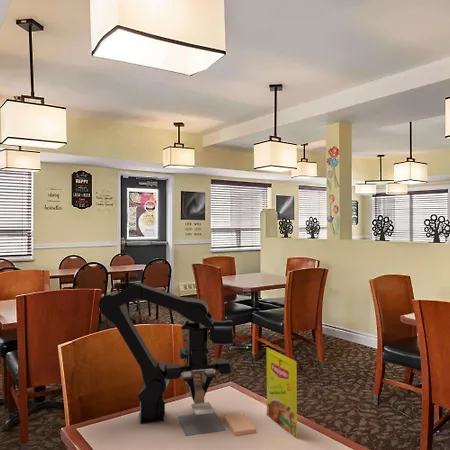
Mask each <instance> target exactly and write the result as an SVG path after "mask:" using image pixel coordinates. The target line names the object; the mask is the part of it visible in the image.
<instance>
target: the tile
mask: <svg viewBox="0 0 450 450" xmlns="http://www.w3.org/2000/svg"><path fill="white" fill-rule="evenodd" d="M223 420H224V421H225V423H226V425H227V426H228V427H229V429H230V430H231V432H232V434H233V436H235V437H236V436H242V435H250V434H256V433H257V428H256V426H255V425H254V423H252V421H251V419H249V417H248V416H247V414H246V413H244V412H241V413H235V414H227V415H224V419H223Z"/></svg>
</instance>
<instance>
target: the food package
mask: <svg viewBox="0 0 450 450" xmlns="http://www.w3.org/2000/svg"><path fill="white" fill-rule="evenodd" d="M265 352H266V416H268V417H269V418H270V419H271V420H272V421H274V423H276V424H277V425H279V426H280V427H281V428H282V429H284V431H286V432H287V433H289V434H290V435H292V436H293V437H294V438H295V439H298V398H297V396H298V393H297V392H298V387H297V385H298V382H297V380H298V377H297V376H298V375H297V374H298V373H297V371H298V368H297V360H294V359H291V358H290V357H288V356H286V355H284V354H281V353H279V352H277V351H276V350H274V349H272V348H269V347H268V346H267V347H266V351H265Z"/></svg>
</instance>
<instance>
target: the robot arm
mask: <svg viewBox="0 0 450 450" xmlns="http://www.w3.org/2000/svg"><path fill="white" fill-rule="evenodd" d="M135 299H138V300H139V299H140V300H142V301H144V302H145V301H146V302H149V303H151V304H155V305H158V306H160V307H163V308H166V309H169V310H172V311H174V312H176V313H178V314H179V315H180V316H182V317H183V318H185V319H186V320H185V322H184V323H183V324H182V325H181V326H180V329H181V330H188V331H187V347H182V348H181V347H180V348H179V352H178V353H179V354H178V355H179V356H178V358H179V360H185V363H186V365H183V366H182V365H181V366H180V363H179V362H173V363H172V362H171V363H166V364H165V361H164V359H161V360H160V361H158V360H157V359H156V358H155V357H154V356H153V355H152V353H151V351H150V350H149V348H148V346H147V344H146V343H145V341H144V340H143V338H142V336H141V335H140V332H138V331H139V330H138V329H137V328H136V326H135V324H134V323H133V321H132V320H131V318H130V314H129V310H128V306H127V303H129V302H131V301H133V300H135ZM97 306H98V307H97V308H98V309H99V311H100V313H101V314H102V315H103V316H104V317H105V319H106V320H107V321H109V322H110V323H111V324H113V325H114V326H115V328H116V329H117V331H118V332H119V334H120V335H121V337H122V339H123V341H124V342H125V344H126V346H127V347H128V349H129V351H130V352H131V354H132V356H133V358H134V359H135V361H136V363H137V364H138V366H139V368H140V370H141V376H142V380H143V383H144V385H143V387H142V388H141V390H140V392H139V393H138V395H137V397H138V400H139V415H138V416H139V420H140V424H141V425H142V424H150V423H151V424H152V423H159V422H163V421H165V418H164V417H165V416H166V401H165V399H164V396H163V393H165V391H166V389H167V387H168V385H169V383H170V380H177V379H180V377H181V380H182V381H183V382H186V383H187V386H188V389H189V392H190V396H191V395H192V397H191V399H192V400H193V399H194V397H195V392H194V382H195V381H194V377H193V375H192V373H200V372H202V383H201V386H202V388H203V389H204V397H205V396H206V393H207V391H208V389H209V387H210V385H211V382H212V381H213V380H214V379H216V378H217V375H216V371H218V372H219V374H220V375H228V374H232V364H231V363H230V361H229V360H227V359H226V358H218V359H214V360H213V363H209V341H210V342H211V343H213V345H219V346H220V345H222V346H223V345H224V346H225V345H228V346H229V345H230V346H231V345H232V346H233V345H234V330H233V320H232V319H227V320H216V319H215V318H214V316H213V315H212V314H211V312H210V311H209V306H208V302H206V301H205V300H203V299H201V298H195V297H185V296H184V297H183V296H178V295H175V294H172V293H170V292H167V291H163V290H161V289H158V288H155V287H152V286H149V285H147V284H144V283H143V282H140V281H139V282H136V283H134V284H132V285H131V286H130V287H129V286H128V287H127V288H125V289H122V290H121V291H119V292H117V291H111V292H108V293H107V294H105V295H103V296H102V297H101V298H100V299H99V301H98V305H97ZM208 339H209V340H208Z"/></svg>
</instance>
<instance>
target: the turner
mask: <svg viewBox="0 0 450 450" xmlns="http://www.w3.org/2000/svg"><path fill="white" fill-rule="evenodd" d="M194 392H195V397H194V399H192V402H194V403H191V406H190V407H191V408H192V410H193V412H194V414H196V415H198V414H206V413H214V412H215V410H214V408H213V406H212V404H211V403H210V401H209V402H207V401H206V402H205V396H204V389H203V388H202V384H201V383H200V382H199V381H194ZM190 397H191V398H192V395H191V394H190Z"/></svg>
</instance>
